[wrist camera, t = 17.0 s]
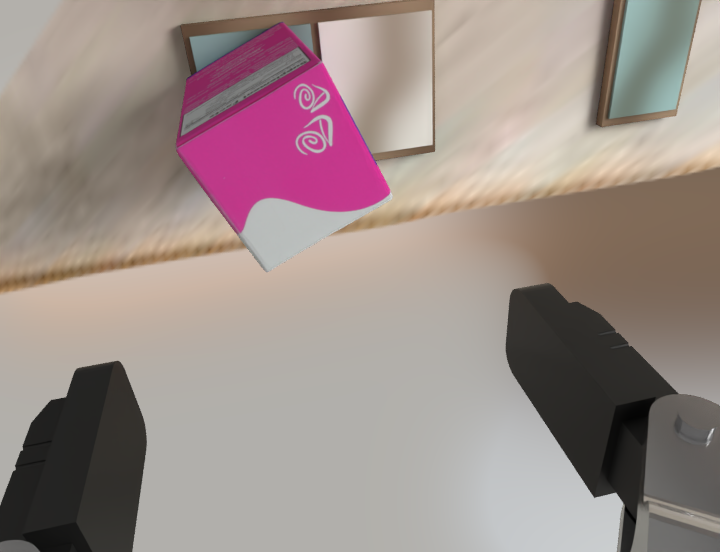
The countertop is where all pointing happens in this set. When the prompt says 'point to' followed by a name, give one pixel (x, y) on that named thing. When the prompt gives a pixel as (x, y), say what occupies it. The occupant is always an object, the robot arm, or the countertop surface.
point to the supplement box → (277, 147)
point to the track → (417, 62)
